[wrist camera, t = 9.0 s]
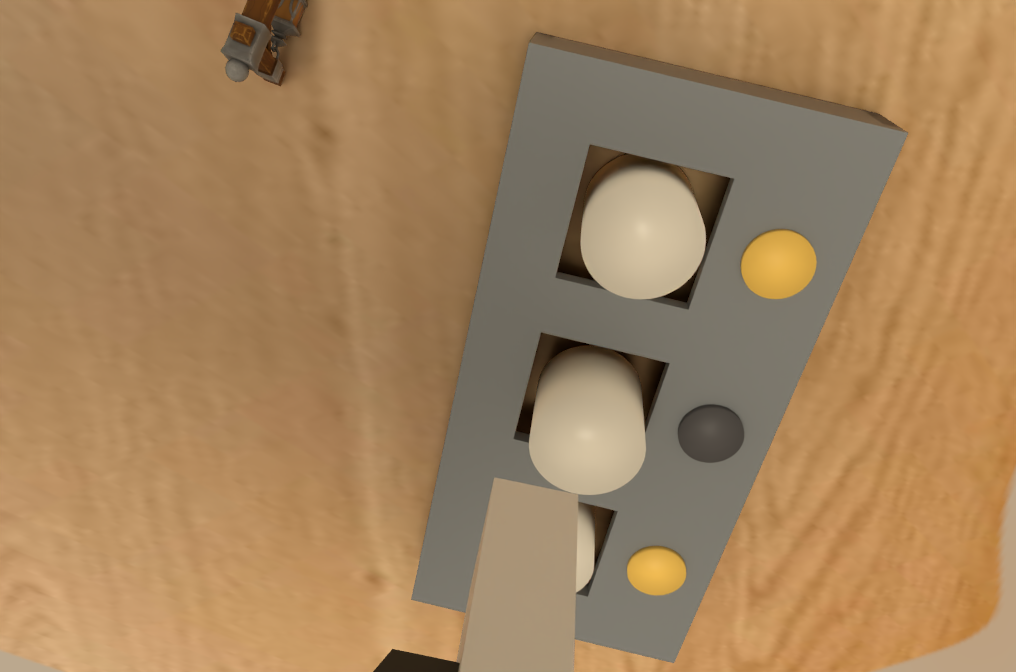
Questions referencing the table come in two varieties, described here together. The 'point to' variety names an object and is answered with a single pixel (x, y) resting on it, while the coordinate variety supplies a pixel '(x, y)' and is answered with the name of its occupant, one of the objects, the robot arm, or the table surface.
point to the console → (655, 317)
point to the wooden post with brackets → (261, 38)
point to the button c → (641, 228)
